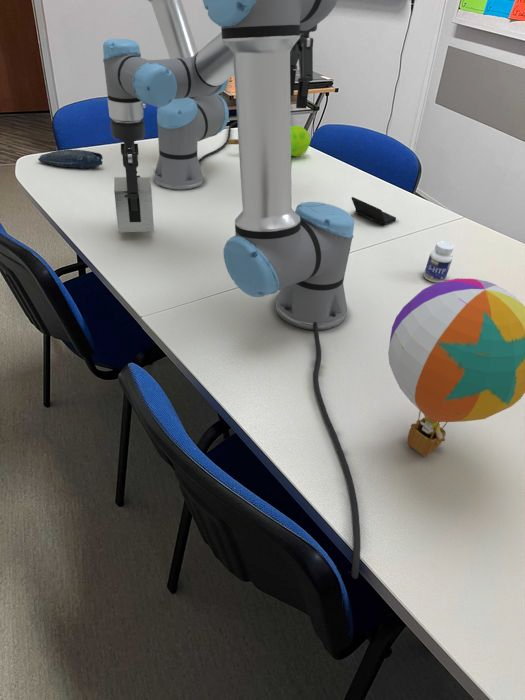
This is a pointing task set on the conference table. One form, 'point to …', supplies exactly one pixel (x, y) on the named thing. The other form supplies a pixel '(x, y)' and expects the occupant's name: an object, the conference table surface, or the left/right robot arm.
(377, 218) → the handheld gaming console
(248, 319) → the conference table surface
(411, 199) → the conference table surface
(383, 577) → the conference table surface
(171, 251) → the conference table surface
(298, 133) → the decorative tree
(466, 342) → the toy
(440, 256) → the pill bottle
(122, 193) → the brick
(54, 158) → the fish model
